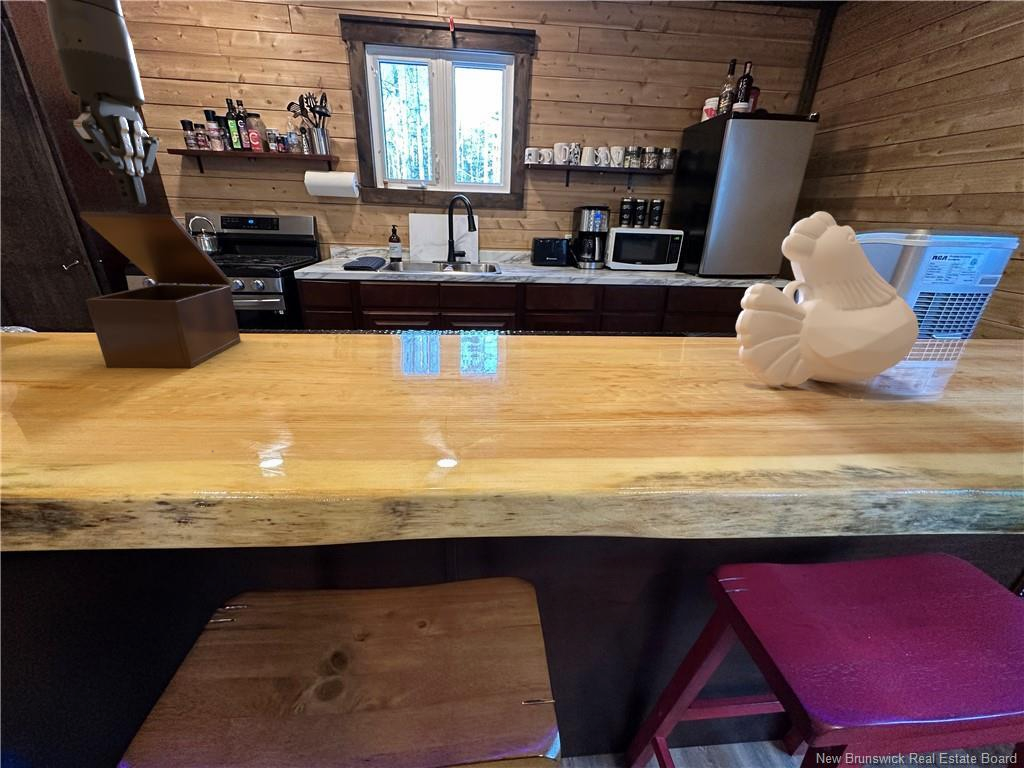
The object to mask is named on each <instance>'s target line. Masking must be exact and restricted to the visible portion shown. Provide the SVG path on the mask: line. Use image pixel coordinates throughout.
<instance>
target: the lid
mask: <svg viewBox="0 0 1024 768" xmlns="http://www.w3.org/2000/svg"><path fill="white" fill-rule="evenodd" d="M79 217H80V218H82V219H83V220H84V221H85V222H86V223H87V224H88V225H89V226H90V227H91V228H93V229H94V230H95V231H96V232H97V233H98V234H100V235H101V236H102V237H103V238H104V239H105V240H106V241H108V242H109V243H110V244H111V245H112V246H114V248H116V249H117V250H118V251H119V252H120V253H121V254H122V255H124V257H126V258H127V259H128V260H129V261H130V262H132V264H133V265H135V266H136V267H137V268H138V269H140V270H141V271H142V272H143V273H144V275H146V276H147V277H148V278H149V279H150V280H152V281H153V283H156V284H172V285H212V286H230V284H231V280H230V279H229V278H228V277H227V275H226V274H225V273H224V272H223V270H221V269H220V267H219V266H218V265H217V264H216V263H215V262H214V261H213V259H212V258H211V257H210V256H209V255H208V254H207V252H206V251H205V250H204V249H203V248H202V247H201V246H200V244H199V243H198V242H197V241H196V239H195V238H193V236H192V235H191V234H190V232H188V230H187V229H186V228H185V227H184V226H183V225H182V223H181V222H180V221H179V220H178V219H177V218H176V216H175V215H174V214H159V213H156V214H155V213H132V212H130V213H129V212H109V211H108V212H103V211H80V215H79Z"/></svg>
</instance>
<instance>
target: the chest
mask: <svg viewBox="0 0 1024 768" xmlns="http://www.w3.org/2000/svg"><path fill="white" fill-rule="evenodd" d="M85 302H86V305H87V308H88V312H89V315H90V318H91V321H92V325H93V328H94V331H95V335H96V338H97V341H98V344H99V348H100V351H101V354H102V357H103V361H104V364H105V367H106V368H134V369H135V368H137V369H138V368H140V369H143V368H145V369H146V368H147V369H148V368H149V369H153V368H154V369H192V368H195V367H196V366H198V365H200V364H202V363H204V362H206V361H207V360H209V359H211V358H213V357H215V356H217V355H218V354H220V353H222V352H224V351H226V350H228V349H230V348H232V347H233V346H235V345H237V344H239V343H241V342H242V340H241V334H240V329H239V325H238V320H237V314H236V309H235V304H234V298H233V293H232V287H231V286H230V285H209V284H169V283H156V284H152V285H151V284H150V285H146V286H142V287H138V288H133V289H128V290H123V291H119V292H114V293H110V294H104V295H99V296H96V297H91V298H86V299H85Z"/></svg>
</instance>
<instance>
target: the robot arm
mask: <svg viewBox="0 0 1024 768" xmlns="http://www.w3.org/2000/svg"><path fill="white" fill-rule="evenodd" d="M44 1H45V6H46V11H47V20H48V25H49V30H50V34H51V37H52V40H53V44H54V47H55V48H54V49H55V52H56V55H57V58H58V62H59V66H60V70H61V73H62V77H63V80H64V84H65V87H66V90H67V92H68V93H69V94H70V95H72V96H73V97H75V98H77V99H78V111H79V113H80V115H79V116H78V118H77V119H67V120H66V123H65V124H66V127H67V128H68V129H69V131H70V132H71V134H72V135H73V136H74V137H75V138H76V140H77V141H78V142H79V144H81V146H82V147H83V149H84V150H85V151H86V152H87V154H88V155H89V156H90V158H91V159H92V160H93V162H94V163H95V164H96V166H98V168H100V169H105V170H107V171H109V173H110V174H111V175H112V176H114V180H115V185H116V187H117V191H118V194H119V195H118V196H119V199H120V201H121V203H122V205H124V206H125V207H126V206H127V207H146V205H147V199H146V198H147V197H146V194H145V190H144V185H143V181H142V178H143V177H144V175H145V174H151V173H152V170H153V167H154V163H155V159H156V155H157V152H158V148H159V145H160V144H159V140H158V138H157V137H155V136H149V135H148V134H147V132H146V131H145V130H144V124H143V120H142V118H141V117H140V114H139V112H138V107H142V106H144V105H145V103H146V100H145V95H144V91H143V87H142V82H141V81H142V80H141V77H140V72H139V68H138V63H137V59H136V55H135V51H134V46H133V43H132V42H133V41H132V39H131V36H130V34H129V33H130V32H129V30H128V27H127V25H126V21H125V18H124V13H123V9H122V4H121V0H44Z"/></svg>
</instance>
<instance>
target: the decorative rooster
mask: <svg viewBox="0 0 1024 768" xmlns="http://www.w3.org/2000/svg"><path fill="white" fill-rule="evenodd" d="M781 252H782V254H783V256H784V257H785V258H786V259H788V260H789V261H790V266H791V270H792V273H793V276H794V279H795V280H792V281H790V282H789V283H787V285H785V287H784V288H783V289H782V290H780V289H779V288H777V287H775V286H773V285H771V284H769V283H761V282H757V283H755V284H753V285H750V286H749V287H748V288H747V289H746V290H745V292H744V295H743V297H742V299H741V301H740V306H741V307H740V308H742V309H743V310H742V311H741V312H740V313H739V315H738V317H737V320H736V323H735V331H736V341H737V343H738V344H739V345H741V346H740V347H739V350H738V358H739V359H738V360H739V361H740V363H742V364H744V367H745V369H746V370H747V371H748V372H751V373H752V374H753V376H754V377H756V378H757V379H758V380H759V381H760V382H761V383H763V384H765V385H767V386H770V387H775V386H776V387H777V386H781V385H782V386H783V387H786V388H795V387H796V386H799V385H801V384H803V383H804V382H806V381H807V380H814V381H818V382H824V383H832V384H837V383H838V384H839V383H853V382H863V381H868V380H871V379H873V378H876V377H877V376H879V375H881V374H882V373H884V372H886V371H887V370H889V369H891V368H893V367H895V366H896V365H898V364H900V363H901V362H902V361H903V360H904V359H905V358H906V357H907V356H908V355H909V354H910V352H911V351H912V350H913V348H914V346H915V345H916V343H917V341H918V338H919V335H920V330H919V322H918V317H917V315H916V313H915V312H914V310H913V309H912V308H911V306H910V305H909V304H908V303H907V302H906V300H905V299H904V298H902V297H901V296H900V295H898V294H897V293H898V290H897V289H896V288H895V287H894V286H893V285H891V283H889V282H887V281H886V279H884V277H882V276H881V274H880V273H878V272H877V270H876V269H875V268H874V266H873V265H872V264H871V262H870V261H869V259H868V257H867V255H866V253H865V252H864V249H863V248H862V246H861V244H860V242H859V240H858V239H857V235H856V233H855V230H854V229H853V228H852V226H850V225H842V226H841V225H838V224H837V221H836V220H835V218H834V217H833V216H832V215H831V213H828V212H827V211H823V210H822V211H816V212H814V213H813V214H811V215H810V216H809V217H804V218H802V219H800V220H799V221H797V222H796V223H794V225H793V226H792V227H791V229H790V231H789V234H788V235H787V236H786V237H785V238H784V239H783V241H782V244H781ZM797 290H798V302H797V303H796V302H795V292H796V291H797Z"/></svg>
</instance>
